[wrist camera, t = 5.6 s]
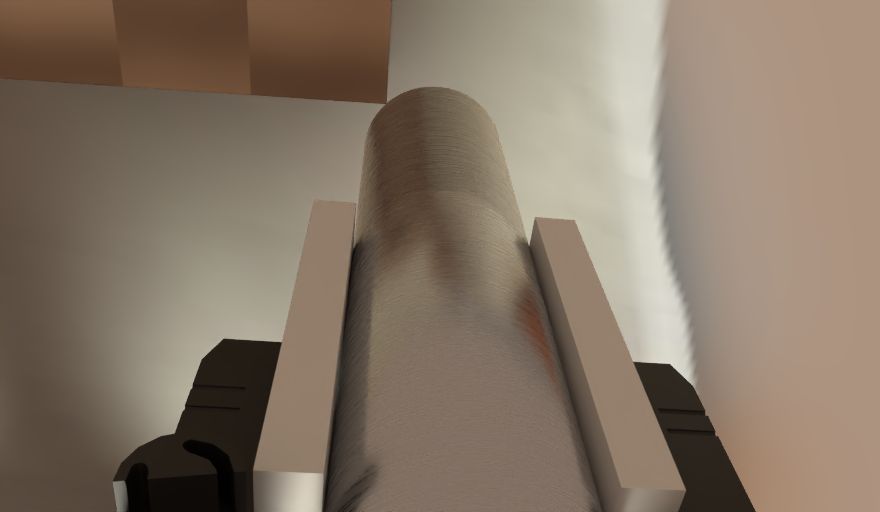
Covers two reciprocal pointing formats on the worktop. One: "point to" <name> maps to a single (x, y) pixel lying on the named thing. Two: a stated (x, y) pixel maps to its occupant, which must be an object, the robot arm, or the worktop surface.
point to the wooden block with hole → (203, 45)
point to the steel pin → (448, 332)
